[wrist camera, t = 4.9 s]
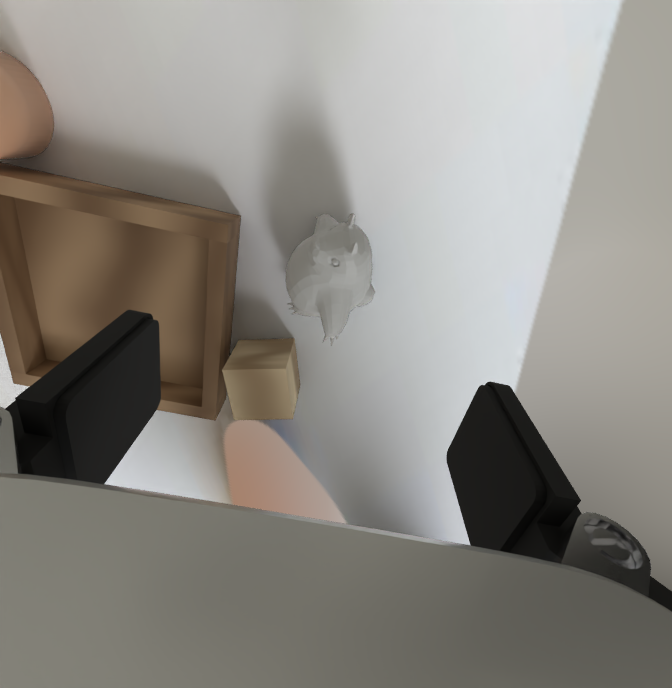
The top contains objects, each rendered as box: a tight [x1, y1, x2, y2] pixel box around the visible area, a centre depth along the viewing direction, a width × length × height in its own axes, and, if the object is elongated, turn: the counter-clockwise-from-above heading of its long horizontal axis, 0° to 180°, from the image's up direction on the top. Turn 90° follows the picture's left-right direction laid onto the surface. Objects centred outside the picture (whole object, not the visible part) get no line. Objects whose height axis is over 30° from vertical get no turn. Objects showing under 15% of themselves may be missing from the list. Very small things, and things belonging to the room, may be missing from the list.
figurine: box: [286, 213, 375, 345], centre depth 20 cm, size 8×6×8 cm
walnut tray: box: [0, 163, 241, 420], centre depth 24 cm, size 14×14×3 cm
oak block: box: [222, 338, 300, 420], centre depth 26 cm, size 4×4×4 cm
